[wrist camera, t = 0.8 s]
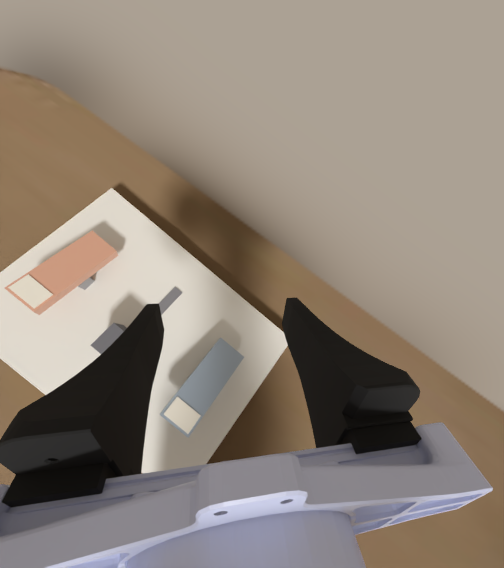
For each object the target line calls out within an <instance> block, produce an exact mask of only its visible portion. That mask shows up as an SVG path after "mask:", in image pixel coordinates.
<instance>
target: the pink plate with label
mask: <svg viewBox="0 0 504 568" xmlns="http://www.w3.org/2000/svg"><path fill="white" fill-rule="evenodd" d="M117 256H118V253H117V251H116V250H115V249H114V248H113V247H111V246H110V245H109V244H108V243H107V242H105V241H104V240H103V239H102V238H101V237H99V236H98V235H97V234H96V233H95V232H93V231H91V232H89V233H87V234H86V235H84V236H83V237H81V238H80V239H78V240H77V241H75V242H74V243H72V244H71V245H69V246H68V247H66V248H64V249H63V250H61V251H60V252H58V253H57V254H55V255H54V256H52V257H51V258H49V259H48V260H46V261H45V262H43V263H41V264H40V265H38V266H37V267H35V268H34V269H32V270H31V271H29V272H28V273H26V274H25V275H23V276H22V277H20V278H18V279H17V280H15V281H14V282H12V283H11V284H9V285H8V286H6V287H5V289H6V290H7V291H8V292H10V293H11V294H12V295H13V296H14V297H16V298H17V299H18V300H19V301H21V302H22V303H23V304H24V305H26V306H27V307H28V308H29V309H30V310H32V311H33V312H34V313H36V314H38V315H40V314H42V313H43V312H44V311H45V310H47V309H48V308H49V307H51V306H52V305H53V304H55V303H56V302H57V301H59V300H60V299H61V298H63V297H64V296H65V295H67V294H68V293H69V292H71V291H72V290H73V289H75V288H76V287H77V286H79V285H80V284H81V283H83V282H84V281H85V280H87V279H88V278H89V277H91V276H92V275H93V274H95V273H96V272H97V271H99V270H100V269H101V268H102V267H104V266H105V265H106V264H108V263H109V262H110V261H112V260H113V259H114V258H116V257H117Z"/></svg>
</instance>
